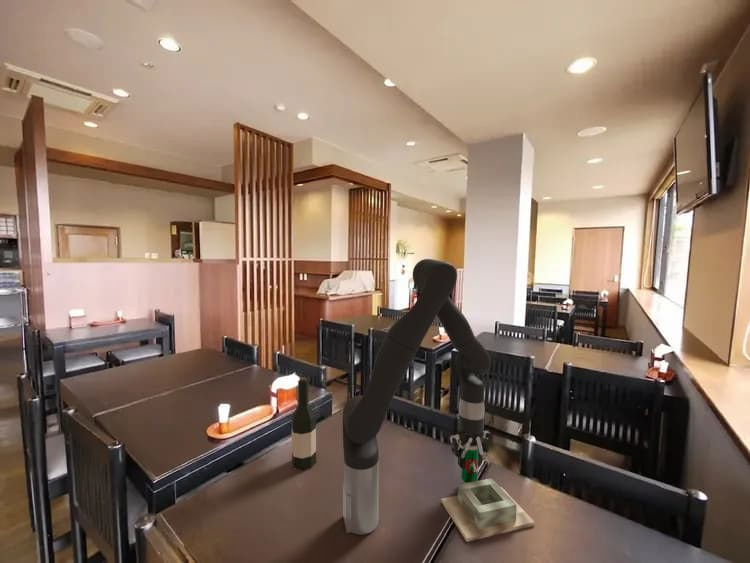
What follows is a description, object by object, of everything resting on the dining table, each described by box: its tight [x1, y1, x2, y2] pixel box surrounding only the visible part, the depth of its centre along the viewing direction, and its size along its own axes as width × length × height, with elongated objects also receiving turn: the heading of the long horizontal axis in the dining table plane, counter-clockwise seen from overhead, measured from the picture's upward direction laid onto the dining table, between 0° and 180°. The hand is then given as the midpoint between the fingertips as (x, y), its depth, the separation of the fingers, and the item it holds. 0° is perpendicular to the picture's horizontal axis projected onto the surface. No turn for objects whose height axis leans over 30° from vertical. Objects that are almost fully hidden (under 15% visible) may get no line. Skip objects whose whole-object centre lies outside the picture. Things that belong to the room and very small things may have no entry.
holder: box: [440, 477, 535, 543], centre depth 90 cm, size 20×14×6 cm
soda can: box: [460, 444, 479, 483], centre depth 101 cm, size 5×5×12 cm
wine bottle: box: [291, 376, 317, 471], centre depth 112 cm, size 8×8×30 cm
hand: (469, 466), depth 101 cm, fingers closed on soda can, 5 cm apart
